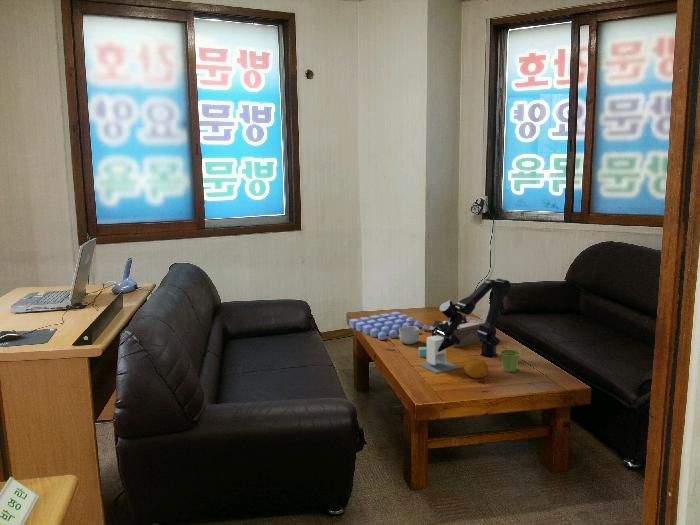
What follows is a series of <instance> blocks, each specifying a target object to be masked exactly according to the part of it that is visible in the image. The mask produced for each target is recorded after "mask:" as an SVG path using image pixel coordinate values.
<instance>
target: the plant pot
mask: <svg viewBox="0 0 700 525" xmlns="http://www.w3.org/2000/svg"><path fill="white" fill-rule="evenodd" d="M499 354H500V357H501V363H502V370H503V371H504V372H506V373H512V372H513V373H515V372H516V371H517V369H518V363H519V360H520V356H521V354H522V353H521V351H519V350H516V349H511V348H510V349H509V348H508V349H506V348H505V349H502V350H500V351H499Z"/></svg>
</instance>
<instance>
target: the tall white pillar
mask: <svg viewBox="0 0 700 525" xmlns="http://www.w3.org/2000/svg"><path fill="white" fill-rule="evenodd" d="M443 341H444V337H441V336H439V335H436V336H432V335H431V336H427V337H426V347H427V357H426V362H429V363H431V364H433V365H436V360H440V361H442V362H444V363H446V361H447V348H446V349H444V350H442V351H440V352H438V349H439V347H440V346H441V344H442V343H443Z"/></svg>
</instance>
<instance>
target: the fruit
mask: <svg viewBox="0 0 700 525" xmlns="http://www.w3.org/2000/svg"><path fill="white" fill-rule="evenodd" d="M463 368H464V372H465V374H466V375H467V376H468V377H471V378H475V379H480V378H483V377H485V376H486V375H487V374H488V372H489V366H488V363H487V362H485V360H484V359H482V358H472V359H469V360H467V361H466V362H465V363H464V367H463Z"/></svg>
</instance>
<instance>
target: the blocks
mask: <svg viewBox="0 0 700 525" xmlns="http://www.w3.org/2000/svg"><path fill="white" fill-rule="evenodd" d="M406 326H414V327H418V328H419V329H421V330H423V331H424V332H428V331H429V328H430V327H429V326H428V324H427V323H425V324H424V325H423V326H422V322H421V321H420V320H415V318H413V317H412V316H411V317H409V316H408V315H407V314H404V313H403V314H402V313H401V312H398V311H393V312H390V314H389V313H380V315H377V314H375V315H370V316H369V317H367V316H364V317H363V316H362V317H359V319H358V318H352V319H348V328H351V329H352V330H353V329H355V331H357V332H362V334H365V335H367V336H368V335H370V336H371V337H372V338H378V340H379V341H385V340H387V337H388V336H389V338H391V339H395V338H397V337H398V335H399V329H400V328H401V327H406Z"/></svg>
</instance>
